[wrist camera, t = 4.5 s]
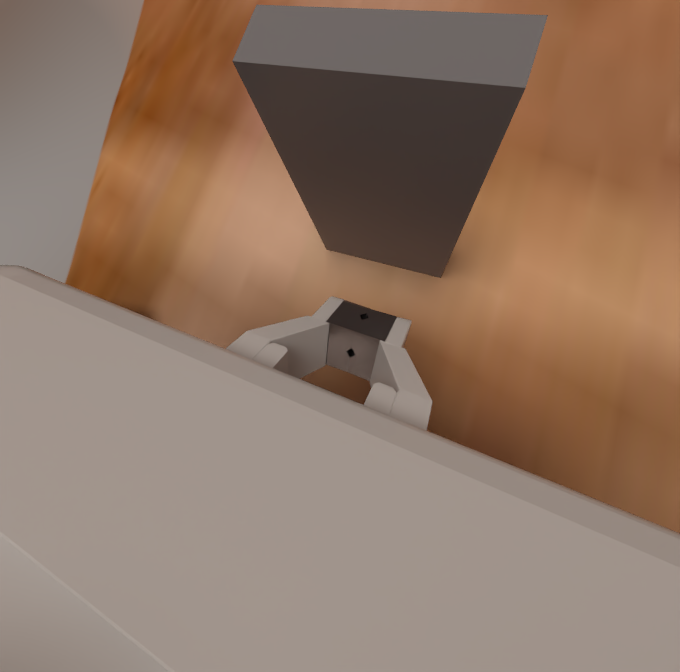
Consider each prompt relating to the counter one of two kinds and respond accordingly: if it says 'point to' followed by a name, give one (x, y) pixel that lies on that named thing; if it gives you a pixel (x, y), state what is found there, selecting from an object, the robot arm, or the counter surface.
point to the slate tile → (387, 117)
